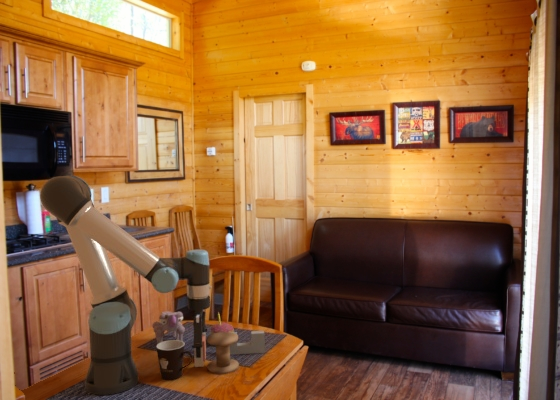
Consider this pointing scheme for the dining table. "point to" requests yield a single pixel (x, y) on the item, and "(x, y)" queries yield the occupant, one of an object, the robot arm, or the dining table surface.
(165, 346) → the coffee mug
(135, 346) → the dining table surface
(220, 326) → the cupcake
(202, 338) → the salmon pink block
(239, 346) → the notch board
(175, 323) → the pale pink animal-shaped figure
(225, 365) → the door knob
